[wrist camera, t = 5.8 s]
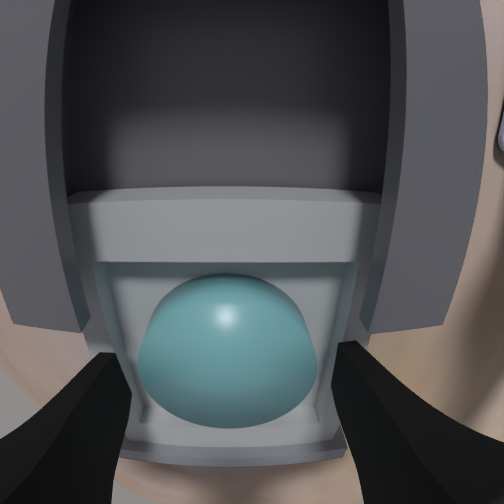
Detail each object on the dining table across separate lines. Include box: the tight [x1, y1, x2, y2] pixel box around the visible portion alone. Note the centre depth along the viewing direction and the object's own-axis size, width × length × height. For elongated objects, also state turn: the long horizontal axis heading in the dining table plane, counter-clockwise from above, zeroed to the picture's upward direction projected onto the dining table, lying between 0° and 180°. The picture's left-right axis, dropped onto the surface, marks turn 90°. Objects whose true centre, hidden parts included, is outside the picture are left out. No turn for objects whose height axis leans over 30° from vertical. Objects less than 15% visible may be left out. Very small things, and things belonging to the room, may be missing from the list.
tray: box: [67, 186, 382, 467], centre depth 11 cm, size 11×12×3 cm
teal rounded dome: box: [137, 273, 318, 429], centre depth 10 cm, size 6×6×2 cm
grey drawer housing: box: [0, 0, 488, 334], centre depth 7 cm, size 12×12×5 cm
